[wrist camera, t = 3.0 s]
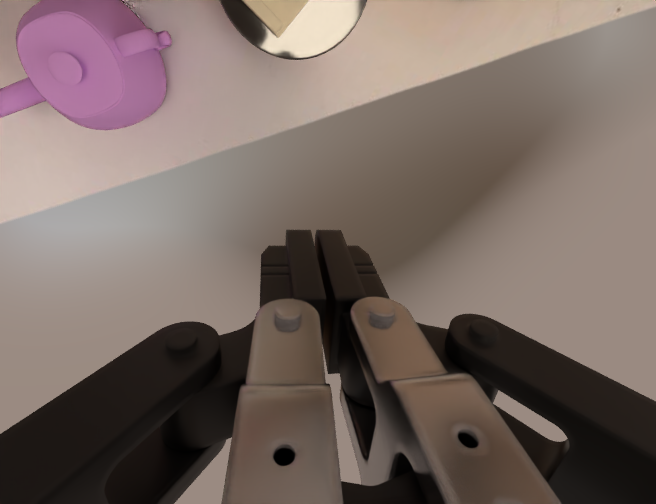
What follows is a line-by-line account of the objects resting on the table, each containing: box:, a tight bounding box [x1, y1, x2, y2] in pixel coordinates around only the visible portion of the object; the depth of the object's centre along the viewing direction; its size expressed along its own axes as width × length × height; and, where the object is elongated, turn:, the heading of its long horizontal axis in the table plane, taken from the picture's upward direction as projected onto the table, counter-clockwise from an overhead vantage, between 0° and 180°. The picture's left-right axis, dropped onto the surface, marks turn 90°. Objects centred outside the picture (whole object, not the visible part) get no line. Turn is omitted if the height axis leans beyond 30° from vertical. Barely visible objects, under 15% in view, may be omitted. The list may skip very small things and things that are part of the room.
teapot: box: [0, 0, 172, 130], centre depth 30 cm, size 10×15×9 cm
